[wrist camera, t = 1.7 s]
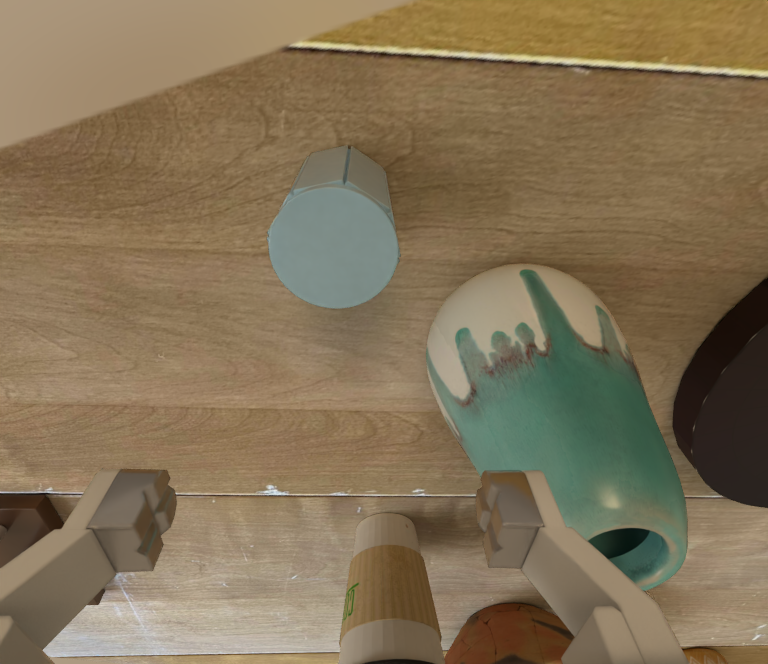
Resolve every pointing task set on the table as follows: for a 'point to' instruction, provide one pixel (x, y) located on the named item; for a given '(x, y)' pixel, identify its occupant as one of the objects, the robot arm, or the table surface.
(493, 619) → the bowl
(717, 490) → the disc
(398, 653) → the coffee cup
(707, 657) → the planter
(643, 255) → the table surface
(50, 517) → the cup rack
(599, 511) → the vase
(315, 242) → the blue cup
